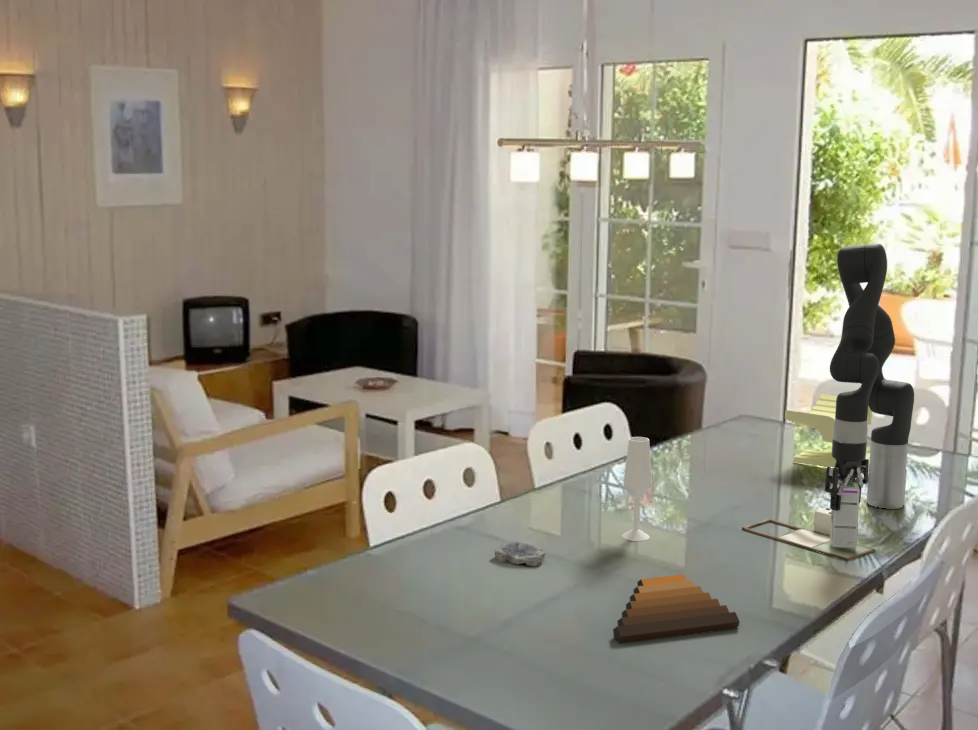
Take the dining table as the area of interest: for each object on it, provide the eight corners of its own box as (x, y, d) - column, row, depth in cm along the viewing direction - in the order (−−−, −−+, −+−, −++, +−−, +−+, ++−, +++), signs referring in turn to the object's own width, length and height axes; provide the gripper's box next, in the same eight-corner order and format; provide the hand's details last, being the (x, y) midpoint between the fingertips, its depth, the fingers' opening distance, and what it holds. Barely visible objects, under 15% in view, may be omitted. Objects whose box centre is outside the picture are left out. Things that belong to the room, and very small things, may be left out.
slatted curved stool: (835, 478, 331) (839, 417, 328) (781, 469, 340) (785, 410, 337) (868, 457, 355) (872, 400, 352) (817, 449, 364) (821, 393, 361)
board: (769, 520, 291) (769, 518, 291) (874, 551, 270) (874, 548, 269) (742, 529, 284) (742, 527, 284) (848, 561, 262) (848, 559, 262)
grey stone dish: (489, 551, 258) (504, 530, 267) (488, 567, 260) (503, 545, 268) (538, 563, 255) (551, 540, 263) (537, 578, 256) (550, 555, 265)
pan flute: (620, 647, 216) (739, 631, 224) (621, 630, 216) (740, 615, 223) (570, 599, 240) (679, 586, 247) (571, 583, 239) (680, 571, 247)
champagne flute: (653, 534, 280) (657, 437, 275) (644, 542, 274) (648, 443, 269) (626, 530, 282) (630, 434, 278) (617, 538, 276) (621, 440, 272)
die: (825, 526, 287) (826, 506, 286) (842, 531, 284) (844, 511, 283) (813, 530, 284) (814, 510, 283) (831, 535, 280) (832, 515, 279)
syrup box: (857, 549, 266) (861, 488, 264) (830, 547, 267) (834, 486, 265) (854, 541, 272) (858, 481, 269) (828, 539, 273) (832, 479, 270)
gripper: (852, 430, 272) (847, 497, 275) (817, 439, 263) (813, 508, 266) (881, 436, 267) (876, 504, 270) (846, 446, 258) (842, 516, 261)
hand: (845, 506), depth 268 cm, fingers closed on syrup box, 8 cm apart
